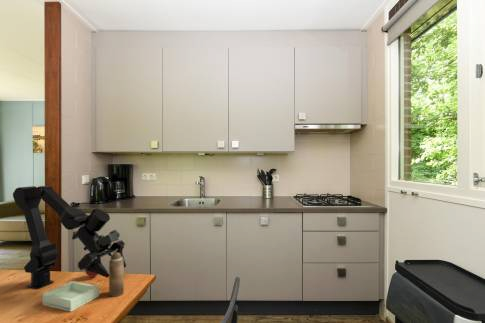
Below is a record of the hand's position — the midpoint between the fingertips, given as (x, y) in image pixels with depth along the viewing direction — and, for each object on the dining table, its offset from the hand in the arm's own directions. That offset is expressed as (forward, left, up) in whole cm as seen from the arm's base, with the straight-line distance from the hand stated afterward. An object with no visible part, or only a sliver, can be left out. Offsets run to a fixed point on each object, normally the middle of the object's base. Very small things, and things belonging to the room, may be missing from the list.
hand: (117, 271), depth 101 cm
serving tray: (-11, -9, -8) cm, 17 cm away
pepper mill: (0, 0, -8) cm, 8 cm away
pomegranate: (-20, +8, -8) cm, 23 cm away
